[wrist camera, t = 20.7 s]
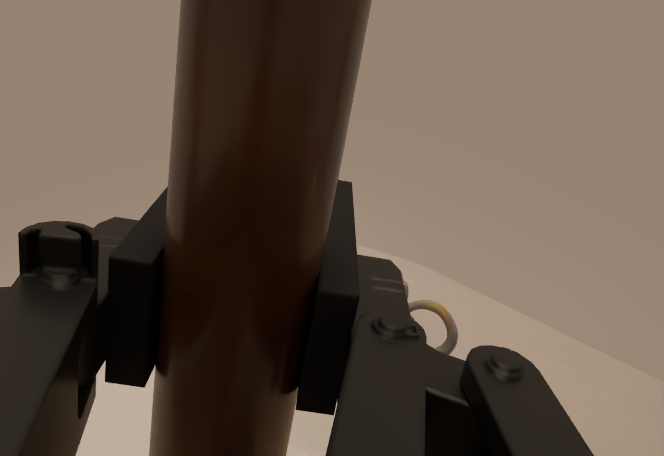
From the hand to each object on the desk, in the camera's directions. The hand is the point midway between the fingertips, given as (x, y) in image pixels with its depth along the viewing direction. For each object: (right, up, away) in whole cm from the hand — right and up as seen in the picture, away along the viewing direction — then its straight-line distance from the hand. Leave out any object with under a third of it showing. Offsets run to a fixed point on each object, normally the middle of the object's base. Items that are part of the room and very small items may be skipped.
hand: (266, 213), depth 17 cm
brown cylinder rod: (-2, -11, -1) cm, 11 cm away
